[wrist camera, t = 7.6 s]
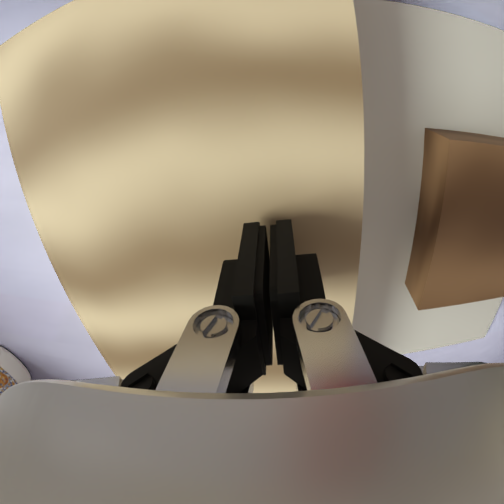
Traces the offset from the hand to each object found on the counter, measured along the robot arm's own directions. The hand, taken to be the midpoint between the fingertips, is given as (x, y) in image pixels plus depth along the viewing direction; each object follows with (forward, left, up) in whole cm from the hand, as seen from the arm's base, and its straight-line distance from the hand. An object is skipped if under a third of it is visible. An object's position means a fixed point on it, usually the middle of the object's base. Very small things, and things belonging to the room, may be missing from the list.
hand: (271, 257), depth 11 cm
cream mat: (+1, +10, -4) cm, 11 cm away
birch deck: (0, -4, -4) cm, 6 cm away
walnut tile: (+1, +11, -2) cm, 11 cm away
